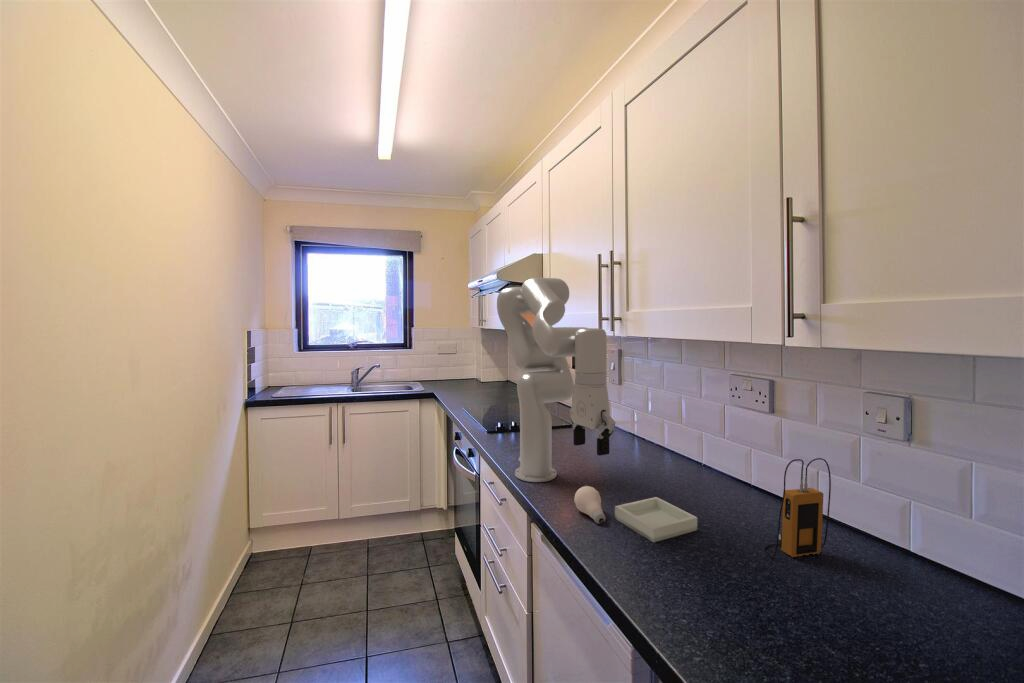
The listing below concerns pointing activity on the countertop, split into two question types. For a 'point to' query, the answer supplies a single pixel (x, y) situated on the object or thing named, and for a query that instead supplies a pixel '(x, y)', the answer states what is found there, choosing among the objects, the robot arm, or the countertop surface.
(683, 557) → the countertop surface
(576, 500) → the light bulb
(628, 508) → the tray
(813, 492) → the multimeter
